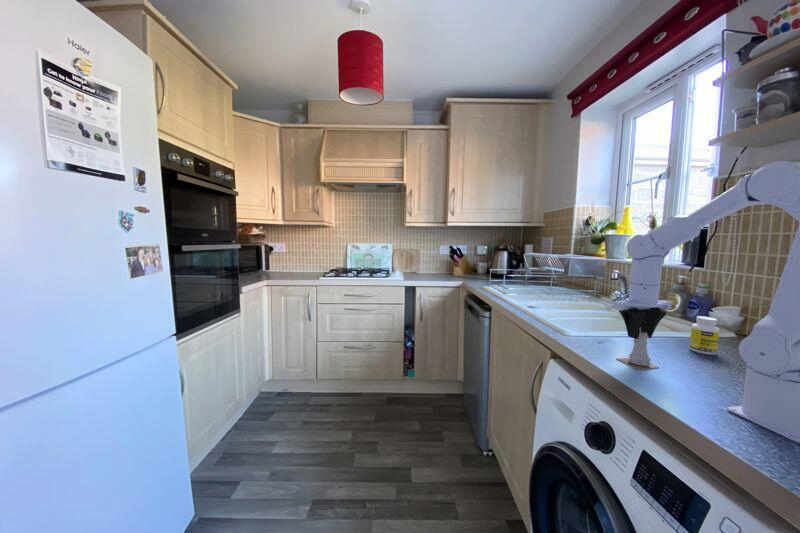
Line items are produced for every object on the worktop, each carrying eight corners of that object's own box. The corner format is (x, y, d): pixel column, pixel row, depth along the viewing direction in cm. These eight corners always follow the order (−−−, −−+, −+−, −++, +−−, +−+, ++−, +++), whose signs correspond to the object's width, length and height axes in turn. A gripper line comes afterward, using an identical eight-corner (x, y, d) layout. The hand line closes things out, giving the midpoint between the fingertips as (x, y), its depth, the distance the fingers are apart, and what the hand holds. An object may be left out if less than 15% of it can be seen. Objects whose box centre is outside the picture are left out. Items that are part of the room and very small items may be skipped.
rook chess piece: (655, 367, 71) (657, 334, 71) (636, 366, 71) (638, 334, 71) (641, 360, 75) (643, 330, 75) (623, 360, 76) (625, 329, 75)
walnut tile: (658, 369, 71) (659, 367, 71) (637, 371, 71) (638, 368, 70) (635, 359, 77) (635, 357, 77) (616, 360, 76) (616, 358, 76)
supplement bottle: (698, 354, 81) (702, 319, 80) (684, 347, 86) (687, 314, 85) (722, 356, 80) (726, 321, 79) (706, 348, 85) (710, 316, 84)
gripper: (653, 281, 77) (648, 331, 78) (605, 281, 75) (600, 333, 76) (682, 285, 70) (677, 340, 71) (630, 286, 68) (625, 342, 69)
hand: (639, 337), depth 73 cm, fingers closed on rook chess piece, 3 cm apart
